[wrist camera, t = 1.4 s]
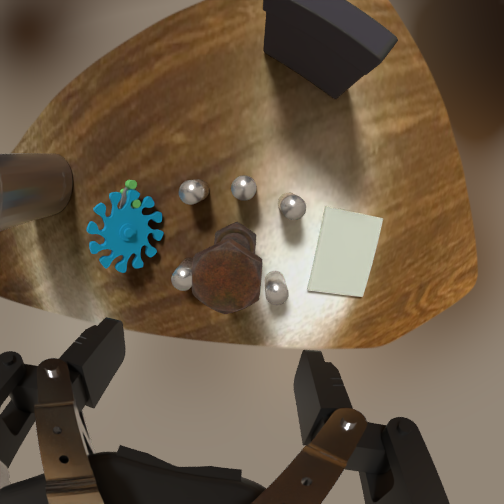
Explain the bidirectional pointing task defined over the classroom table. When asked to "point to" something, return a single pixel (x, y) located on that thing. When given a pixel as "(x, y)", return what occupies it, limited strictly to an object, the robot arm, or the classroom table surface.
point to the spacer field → (241, 190)
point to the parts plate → (344, 252)
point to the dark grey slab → (325, 41)
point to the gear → (125, 228)
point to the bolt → (228, 271)
